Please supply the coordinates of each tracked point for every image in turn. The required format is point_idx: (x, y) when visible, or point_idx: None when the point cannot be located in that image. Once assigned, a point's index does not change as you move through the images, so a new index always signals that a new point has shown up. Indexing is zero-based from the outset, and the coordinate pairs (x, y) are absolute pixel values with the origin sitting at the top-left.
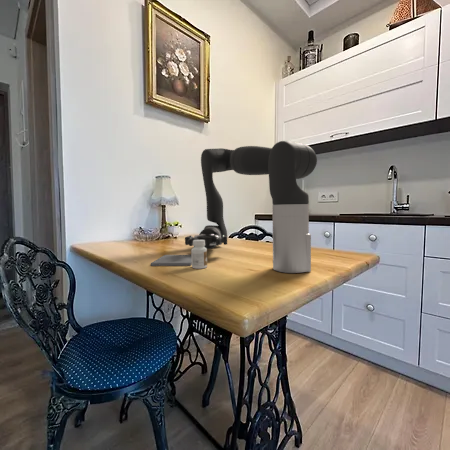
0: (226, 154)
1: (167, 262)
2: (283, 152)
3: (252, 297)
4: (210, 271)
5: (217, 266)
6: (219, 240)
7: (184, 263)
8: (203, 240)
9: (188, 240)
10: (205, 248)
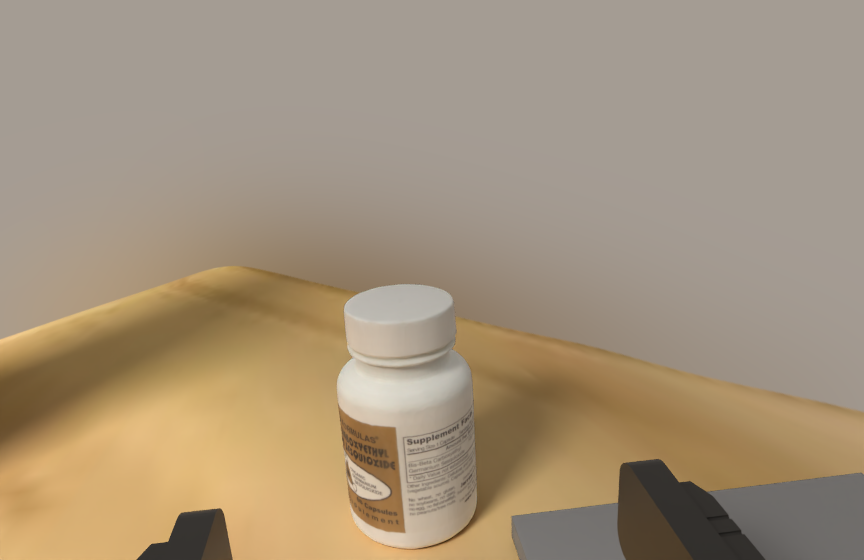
0: None
1: (740, 507)
2: None
3: (180, 300)
4: (314, 443)
5: (264, 548)
6: (158, 550)
7: (566, 512)
8: (355, 302)
9: (681, 482)
10: (344, 366)
